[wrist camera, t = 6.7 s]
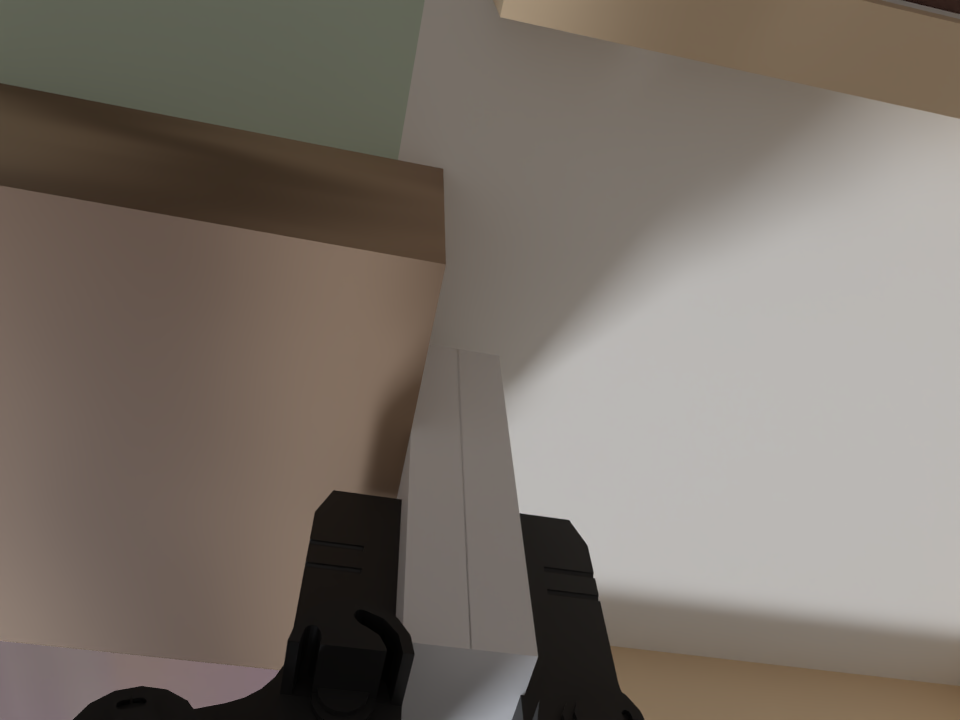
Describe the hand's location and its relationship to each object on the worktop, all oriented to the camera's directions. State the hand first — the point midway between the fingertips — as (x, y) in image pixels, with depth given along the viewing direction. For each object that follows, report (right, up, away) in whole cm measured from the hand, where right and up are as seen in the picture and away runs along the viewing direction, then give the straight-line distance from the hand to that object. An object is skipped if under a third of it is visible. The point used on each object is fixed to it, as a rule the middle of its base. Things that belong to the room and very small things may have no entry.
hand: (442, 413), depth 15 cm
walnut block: (-5, +1, +1) cm, 5 cm away
